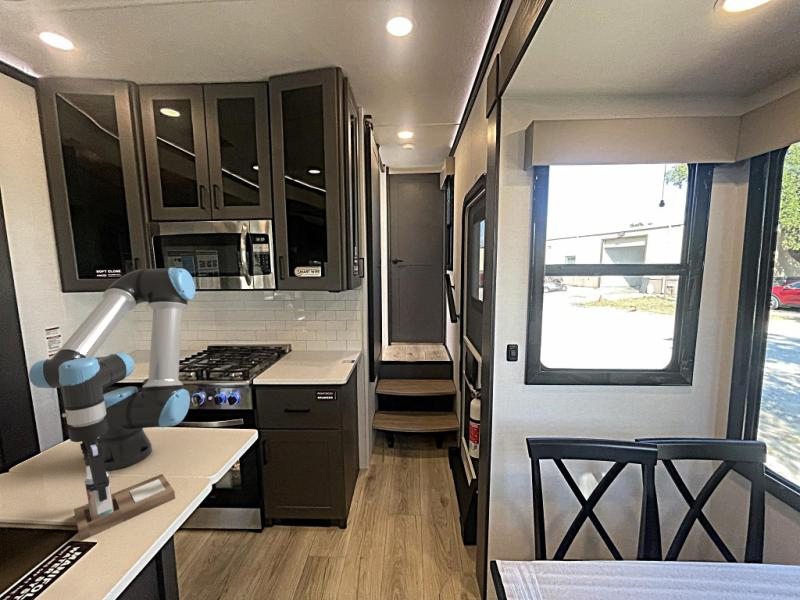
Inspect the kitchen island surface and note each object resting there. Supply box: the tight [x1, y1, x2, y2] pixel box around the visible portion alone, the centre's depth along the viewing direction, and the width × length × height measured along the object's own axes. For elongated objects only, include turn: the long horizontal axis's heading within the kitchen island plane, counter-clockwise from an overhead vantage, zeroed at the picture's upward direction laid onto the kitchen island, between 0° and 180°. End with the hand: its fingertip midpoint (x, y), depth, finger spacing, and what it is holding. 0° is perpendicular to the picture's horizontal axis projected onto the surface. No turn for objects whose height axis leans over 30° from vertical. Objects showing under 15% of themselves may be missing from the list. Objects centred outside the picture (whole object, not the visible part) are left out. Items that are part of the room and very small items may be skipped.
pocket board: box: [73, 473, 176, 542], centre depth 99 cm, size 12×20×2 cm, turn 136°
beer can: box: [84, 471, 115, 522], centre depth 95 cm, size 5×5×12 cm
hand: (100, 498), depth 95 cm, fingers open, 13 cm apart
